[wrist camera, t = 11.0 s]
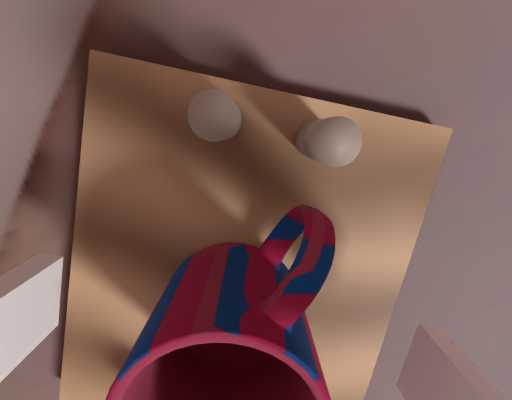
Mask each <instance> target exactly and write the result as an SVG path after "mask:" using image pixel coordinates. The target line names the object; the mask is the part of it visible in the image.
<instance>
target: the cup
mask: <svg viewBox="0 0 512 400" xmlns="http://www.w3.org/2000/svg"><path fill="white" fill-rule="evenodd" d="M303 232H304V235H303V239H302V242H301V245H300V248H299V251H298V253H297V255H296V257H295V260H294V262H293V264H292V266H291V267H290V269H289V270H288V268H287V267H286V266H285V265H284V264H283V263H282V260H283V258H284V257H285V255H286V253H287V252H288V250H289V248H290V247H291V246H292V244H293V243H294V242H295V240H296V239H297V238H298V237H299V236H300V235H301V234H302V233H303ZM335 241H336V240H335V230H334V226H333V223H332V221H331V220H330V219H329V218H328V217H327V216H326V215H325V214H323V213H322V212H321V211H319V210H318V209H315V208H312V207H310V206H307V205H303V204H302V205H298V206H296V207H294V208H292V209H291V210H290V211H289V212H287V213H286V214H285V215H284V217H283V218H282V219H281V220H280V221H279V223H278V224H277V225H276V226H275V228H274V229H273V230H272V232H271V233H270V234H269V236H268V237H267V238H266V240H265V241H264V242H263V243H262V245H261V246H260V248H258V247H256V246H252V245H247V244H243V243H223V244H217V245H213V246H209V247H206V248H204V249H202V250H200V251H198V252H196V253H194V254H193V255H191V256H190V257H189V258H187V259H186V260H185V261H184V262H183V263H182V264H181V265H180V266H179V267H178V268H177V270H176V271H175V273H174V274H173V276H172V277H171V279H170V281H169V283H168V284H167V286H166V288H165V290H164V292H163V293H162V295H161V297H160V299H159V301H158V302H157V304H156V306H155V308H154V310H153V311H152V313H151V315H150V317H149V319H148V320H147V322H146V324H145V326H144V328H143V329H142V331H141V333H140V335H139V337H138V338H137V340H136V342H135V344H134V346H133V347H132V349H131V351H130V353H129V355H128V356H127V358H126V360H125V362H124V364H123V365H122V367H121V369H120V371H119V373H118V374H117V376H116V378H115V380H114V382H113V383H112V385H111V387H110V389H109V392H108V394H107V397H106V399H105V400H331V398H330V395H329V391H328V388H327V385H326V381H325V378H324V374H323V371H322V368H321V364H320V361H319V357H318V354H317V351H316V347H315V344H314V340H313V337H312V334H311V330H310V327H309V324H308V320H307V317H306V313H305V310H306V309H307V308H308V307H309V306H310V304H311V303H312V301H313V300H314V299H315V297H316V296H317V294H318V293H319V291H320V289H321V288H322V286H323V284H324V282H325V280H326V279H327V276H328V274H329V271H330V269H331V266H332V263H333V259H334V254H335Z"/></svg>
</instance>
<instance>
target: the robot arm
mask: <svg viewBox="0 0 512 400" xmlns="http://www.w3.org/2000/svg"><path fill="white" fill-rule="evenodd" d="M62 267H63V257H62V256H57V255H51V254H46V253H40V254H38V255H36V256H35V257H33V258H31V259H29V260H28V261H26V262H24V263H22V264H21V265H19V266H17V267H15V268H14V269H12V270H10V271H9V272H7V273H5V274H3V275H2V276H0V382H1V381H2V380H3V379H4V378H5V377H6V376H7V375H8V374H9V373H10V372H11V371H12V370H13V369H14V368H15V367H16V366H17V365H18V364H19V363H20V362H21V361H22V360H23V359H24V358H25V357H26V356H27V355H28V354H29V353H30V352H31V351H32V350H33V349H34V348H35V347H36V346H37V345H38V344H39V343H40V342H41V341H42V340H43V339H44V338H45V337H46V336H47V335H48V334H49V333H50V332H51V331H52V330H53V329H54V328H55V327H56V326H57V325H58V321H59V308H60V294H61V281H62ZM397 385H398V387H399V389H400V391H401V393H402V394H403V396H404V398H405V400H506V398H505V397H504V396H503V395H502V394H501V393H500V392H499V391H498V390H497V389H496V388H495V387H494V386H493V384H492V383H491V382H490V381H489V380H488V379H487V378H486V377H485V376H484V375H483V374H482V373H481V372H480V371H479V369H478V368H477V367H476V366H475V365H474V364H473V363H472V362H471V361H470V360H469V359H468V358H467V357H466V355H465V354H464V353H463V352H462V351H461V350H460V349H459V348H458V347H457V346H456V345H455V344H454V343H453V341H452V340H451V339H450V338H449V337H448V336H447V335H446V334H445V333H444V332H443V331H442V330H441V329H440V328H439V327H438V326H432V325H427V324H421V323H419V325H418V328H417V330H416V333H415V336H414V339H413V341H412V344H411V347H410V350H409V352H408V355H407V358H406V361H405V363H404V366H403V369H402V372H401V374H400V377H399V380H398V383H397Z"/></svg>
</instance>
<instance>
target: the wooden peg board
mask: <svg viewBox="0 0 512 400" xmlns="http://www.w3.org/2000/svg"><path fill="white" fill-rule="evenodd" d="M452 131H453V129H451V128H446V127H442V126H437V125H432V124H428V123H423V122H419V121H414V120H410V119H405V118H401V117H396V116H392V115H387V114H382V113H378V112H373V111H369V110H364V109H360V108H355V107H351V106H346V105H342V104H337V103H332V102H328V101H323V100H319V99H314V98H310V97H305V96H301V95H296V94H292V93H287V92H282V91H278V90H273V89H269V88H264V87H260V86H255V85H251V84H246V83H242V82H237V81H232V80H228V79H223V78H219V77H214V76H210V75H205V74H201V73H196V72H191V71H187V70H182V69H178V68H173V67H169V66H164V65H160V64H155V63H151V62H146V61H141V60H137V59H132V58H128V57H123V56H119V55H114V54H110V53H105V52H101V51H96V50H91V49H90V52H89V64H88V75H87V86H86V98H85V109H84V121H83V132H82V144H81V155H80V166H79V178H78V189H77V201H76V212H75V223H74V235H73V246H72V258H71V269H70V280H69V292H68V303H67V315H66V326H65V337H64V349H63V360H62V372H61V383H60V395H59V400H105V399H106V397H107V394H108V392H109V389H110V387H111V385H112V383H113V382H114V380H115V378H116V376H117V374H118V373H119V371H120V369H121V367H122V365H123V364H124V362H125V360H126V358H127V356H128V355H129V353H130V351H131V349H132V347H133V346H134V344H135V342H136V340H137V338H138V337H139V335H140V333H141V331H142V329H143V328H144V326H145V324H146V322H147V320H148V319H149V317H150V315H151V313H152V311H153V310H154V308H155V306H156V304H157V302H158V301H159V299H160V297H161V295H162V293H163V292H164V290H165V288H166V286H167V284H168V283H169V281H170V279H171V277H172V276H173V274H174V273H175V271H176V270H177V268H178V267H179V266H180V265H181V264H182V263H183V262H184V261H185V260H186V259H187V258H189V257H190V256H191V255H193V254H194V253H196V252H198V251H200V250H202V249H204V248H206V247H209V246H213V245H217V244H223V243H243V244H247V245H252V246H256V247H258V248H260V246H261V245H262V243H263V242H264V241H265V240H266V238H267V237H268V236H269V234H270V233H271V232H272V230H273V229H274V228H275V226H276V225H277V224H278V223H279V221H280V220H281V219H282V218H283V217H284V215H285V214H286V213H287V212H289V211H290V210H291V209H292V208H294V207H296V206H298V205H302V204H303V205H307V206H310V207H312V208H315V209H318V210H319V211H321V212H322V213H323V214H325V215H326V216H327V217H328V218H329V219H330V220H331V221H332V223H333V226H334V230H335V240H336V241H335V254H334V259H333V263H332V266H331V269H330V271H329V274H328V276H327V279H326V280H325V282H324V284H323V286H322V288H321V289H320V291H319V293H318V294H317V296H316V297H315V299H314V300H313V301H312V303H311V304H310V306H309V307H308V308H307V309H306V310H305V313H306V317H307V320H308V324H309V327H310V330H311V334H312V337H313V340H314V344H315V347H316V351H317V354H318V357H319V361H320V364H321V368H322V371H323V374H324V378H325V381H326V385H327V388H328V391H329V395H330V398H331V400H364V397H365V394H366V391H367V388H368V385H369V382H370V379H371V376H372V373H373V370H374V367H375V364H376V361H377V358H378V355H379V352H380V349H381V346H382V343H383V340H384V337H385V334H386V331H387V328H388V324H389V321H390V318H391V315H392V312H393V309H394V306H395V303H396V300H397V297H398V294H399V291H400V288H401V285H402V282H403V279H404V276H405V273H406V270H407V267H408V264H409V261H410V258H411V255H412V252H413V249H414V246H415V243H416V240H417V237H418V234H419V231H420V228H421V225H422V222H423V219H424V216H425V213H426V210H427V207H428V204H429V201H430V198H431V195H432V192H433V189H434V186H435V182H436V179H437V176H438V173H439V170H440V167H441V164H442V161H443V158H444V155H445V152H446V149H447V146H448V143H449V140H450V137H451V134H452ZM303 235H304V232H303V233H302V234H301V235H300V236H299V237H298V238H297V239H296V240H295V242H294V243H293V244H292V246H291V247H290V248H289V250H288V252H287V253H286V255H285V257H284V258H283V260H282V263H283V264H284V265H285V266H286V267H287V268H288V270H289V269H290V267H291V266H292V264H293V262H294V260H295V257H296V255H297V253H298V251H299V248H300V245H301V242H302V239H303Z"/></svg>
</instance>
